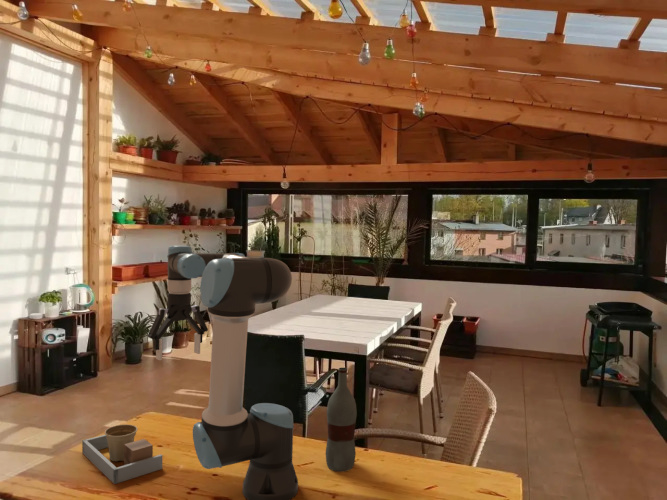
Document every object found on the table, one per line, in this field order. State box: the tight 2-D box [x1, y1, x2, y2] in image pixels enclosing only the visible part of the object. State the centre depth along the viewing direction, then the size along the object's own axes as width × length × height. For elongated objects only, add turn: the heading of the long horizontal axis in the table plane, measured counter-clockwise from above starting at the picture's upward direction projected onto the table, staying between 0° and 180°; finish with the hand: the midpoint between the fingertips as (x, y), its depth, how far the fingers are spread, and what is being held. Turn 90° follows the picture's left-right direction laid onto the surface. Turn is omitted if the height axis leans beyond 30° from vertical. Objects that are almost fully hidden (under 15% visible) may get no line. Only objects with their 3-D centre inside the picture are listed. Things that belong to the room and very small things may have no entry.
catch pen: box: [81, 434, 163, 485], centre depth 156 cm, size 26×14×4 cm, turn 44°
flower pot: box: [104, 424, 138, 463], centre depth 158 cm, size 9×9×9 cm
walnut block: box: [123, 438, 154, 466], centre depth 152 cm, size 6×6×7 cm
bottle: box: [325, 367, 358, 473], centre depth 156 cm, size 9×9×30 cm
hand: (178, 356), depth 170 cm, fingers open, 13 cm apart
